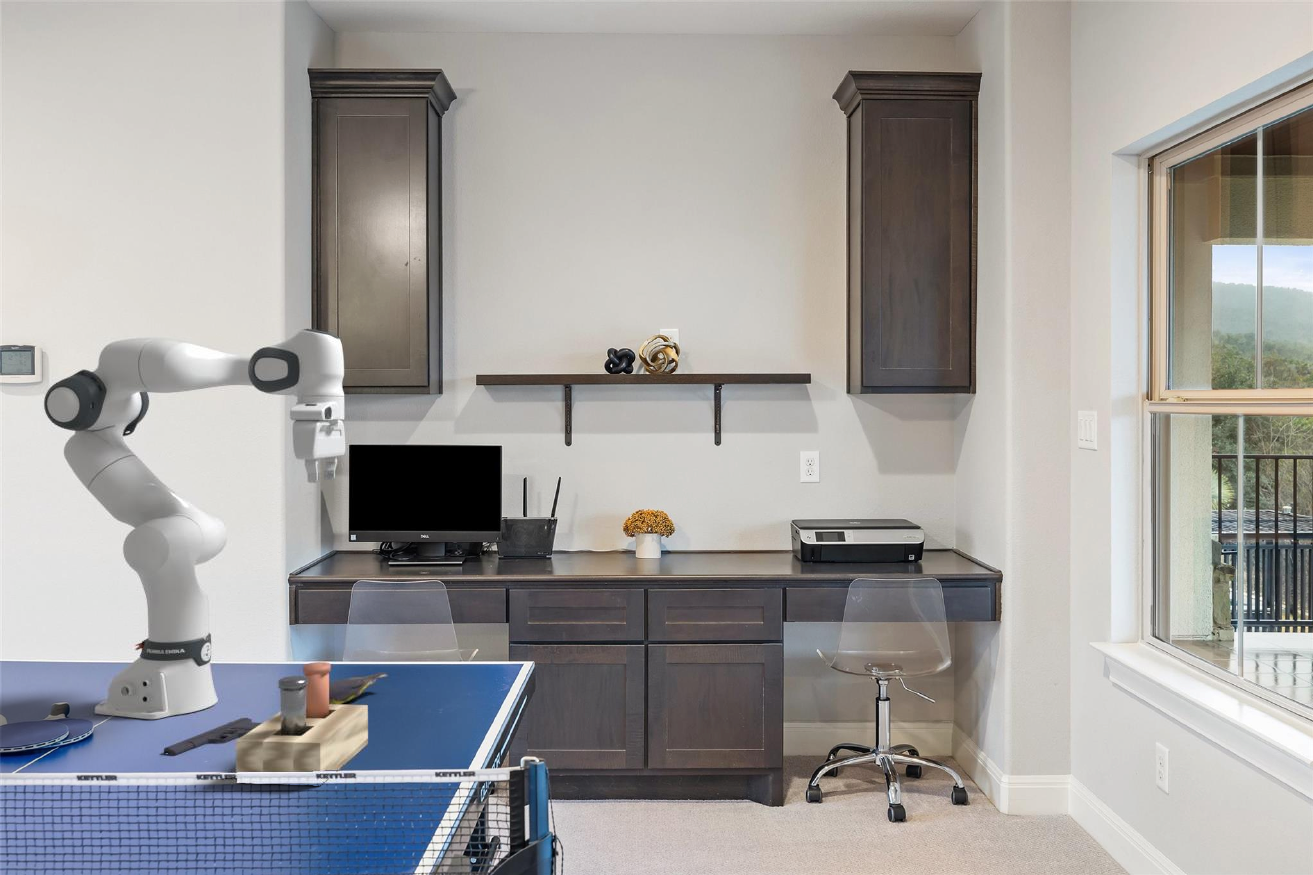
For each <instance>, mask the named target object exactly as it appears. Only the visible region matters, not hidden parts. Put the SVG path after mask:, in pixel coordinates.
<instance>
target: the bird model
mask: <svg viewBox="0 0 1313 875" xmlns="http://www.w3.org/2000/svg"><path fill="white" fill-rule="evenodd" d="M388 676H389V675H388V674H387V673H385V672H376V673H374V674H371V675H365V676H358V677H356V676H355V677H354V676H353V677H347V678H340V679H338V680H334V681H329V704H338V705H343V704H344V703H347V702H348V701H351V700H352V699H354V698H356V697H359V696H360V695H361V694H362V693H363V691H365V690H366V688H369V687H371V686H373V685H375V683H376V682H377V680H378V679H380V678H384V677H388Z"/></svg>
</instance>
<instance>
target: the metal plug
mask: <svg viewBox="0 0 1313 875" xmlns="http://www.w3.org/2000/svg"><path fill="white" fill-rule="evenodd" d="M277 683H278V686H277V687H278V689H279V690H280V691H279V692H280V696H279V697H280V698H279V699H280V711H281V735H282V736H302V735H303V734H305V733H306V686H307V685H308V677H305V675H293V676H286V677H282V678H280V679H279V680H278V682H277Z"/></svg>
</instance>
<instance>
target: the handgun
mask: <svg viewBox="0 0 1313 875" xmlns="http://www.w3.org/2000/svg"><path fill="white" fill-rule="evenodd" d="M262 723H263V722H252V718H249V717H241V718H239V719H234V720H233V721H229V722H228V723H226V724H223V725H220V726H217V727H215V728H212V729H210V730H207V731H205V732H202V733H200V734H197V735H195V736H192V737H190V738H187V739H184V740H181V741H179V742H177V743H174V744H171V745H169V746H166V747H164V748H163V754H164V753H165V754H166V753H168V754H171V755H170V756H173V755H174V756H177V755H179V754H182V753H184V752H187V751H189V750H192V749H196V748H199V747H201V746H203V745H207V744H211V743H218V744H220V743H221V744H222V743H226V742H229V741H232V740H234V739H237V738H238V739H239V738H241V737H242V736H244V735H245V734H247V733H248V732H250V731H251V730H253V729H254V728H256V727H257V726H259V725H261V724H262ZM165 754H164V755H165Z"/></svg>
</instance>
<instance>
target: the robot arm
mask: <svg viewBox="0 0 1313 875" xmlns="http://www.w3.org/2000/svg"><path fill="white" fill-rule="evenodd" d="M344 359H345V358H344V350H343V344H342V342H341V339H340V337H339V336H338V335H337V334H335V333H333V332H328V331H325V330H324V331H322V330H318V329H311V328H304V329H301V330H300V331H298V332H297V333H296V334H295V335H294V336H292V337H291V338H289V339H286V340H284V341H281V342H279V343H276V344H273V345H270V346H266V347H261V348H259V349H257V350H256V351H255V352H254V353H253V354H252V355H240V354H233V353H228V352H224V351H219V350H216V349H211V348H210V347H209V348H208V347H205V346H202V345H197V344H194V343H190V342H186V341H181V340H177V339H173V338H172V339H171V338H163V337H162V338H161V337H140V338H139V337H138V338H128V339H121V340H116V341H113V342H110V343H108V344H107V345H106V346H104V347H103V348H102V350H101V352H100V355H99V358H98V364H97V368H95V369H94V370H93V371H91V370H88V369H81V370H79V371H77V372H75V373H74V374H72V375H70V376H68V377H66V378H63V379H61V380H59V381H57V382H55V383H54V384H53V385H51V387H49V389H47V392H46V393H45V396H44V400H43V407H44V412H45V415H46V417H47V418H48V419H49V420H50V422H51V423H53V424H54V425H55V426H57V427H59V428H62V429H64V430H68V431H73V432H74V434H73V435H71V437H69V439H68V440H66V443H65V444H64V448H63V455H64V459H65V460H66V463H67V465H68V466H69V468H71V470H72V472H73V473H74V475H75V476H76V477H77V479H78V480H79V481H80V482H81V483H82V485H83V486H84V488H86V489H87V491H88V492H89V493H91V495H92V496H93V497H94V498H95V499H96V501H98V503H100V505H101V506H102V507H104V509H105V510H106V511H107V512H108V513H109V514H110V515H111V516H112V517H113V518H114V519H115V520H117V521H118V522H120V523H122V524H126V525H128V526H130V527H132V528H134V529H132V530H131V531H129V532H128V534H127V536H126V537H125V539H124V541H123V546H122V552H123V557H124V559H125V561H126V564H127V565H128V566H129V567H130V568H131V569H132V570H133V571H135V572H136V573H137V575H138V578H139V579H140V582H141V584H142V587H143V590H144V595H145V598H146V604H147V606H146V607H147V629H148V631H147V632H148V636H147V638H146V639H143V641H141V642H139V643H137V644H135V645H134V646H135V647H136V648H135V651H138V650H140V649H141V652H140V654H139V657H138V658H137V659H136V660H134V661H133V662H132V663H130V664H129V665H128V666H126V668H124V669H123V670H122V671H120V672H119V673H117V675H115V676H114V677H113V678H112V680H111V682H110V685H109V688H108V692H107V698H106V699H105V700H102V701H101V702H100V703H98V704H97V705H95V708H94V714H97V715H106V716H115V717H126V718H135V719H144V720H158V719H162V718H166V717H171V716H176V715H183V714H188V713H193V712H198V711H201V710H204V709H207V708H210V707H211V706H214V705H215V704H217V703H218V701H219V699H218V697H217V696H218V695H217V692H216V689H215V686H214V681H213V680H214V679H213V674H212V669H211V668H212V666H211V659H212V635H211V633H210V632H209V631H210V630H209V629H210V628H209V627H210V625H209V624H210V623H209V619H210V618H209V613H210V612H209V611H210V610H209V597H208V594H207V593H206V592H205V591H204V590H202V588H201V587H200V585H199V582H198V579H197V575H196V570H195V566H197V565H201V564H204V563H207V562H209V561H210V560H211V559H213V558H214V557H216V556H217V555H218V554H220V553H221V552H223V550H224V548H225V547H226V544H227V540H228V530H227V528H226V526H225V524H224V522H223V521H222V520H221V519H220V518H219V517H217V516H215V515H213V514H210V513H208V512H205V511H203V510H202V509H200V508H198V507H197V506H195V505H194V504H193V503H191V502H190V501H189V500H188V499H185V497H182V496H181V494H180V495H179V494H178V493H177V492H176V491H174V490H173V489H171V488H170V487H168V486H167V485H166V484H165V483H163V481H162V480H161V479H159V478H158V476H156V475H155V473H154V472H153V471H152V470H151V469H150V468H149V467H148V466H147V465H146V464H145V463H144V462H143V461H142V459H140V458H139V457H138V456H137V455H136V454H135V452H133V451H132V450H131V449H130V447H129V446H128V445H127V443H126V442H125V440H124V437H127V436H130V435H131V434H133V433H134V432H135V430H136V428H137V425H139V423H140V422H142V420H143V419H144V418H145V416H146V414H147V412H148V411H149V405H150V398H149V394H148V393H154V394H156V393H157V394H158V393H159V394H170V393H171V394H172V393H182V392H183V393H184V392H189V391H190V392H191V391H197V390H203V389H210V388H217V387H218V388H219V387H225V386H226V387H227V386H250V387H252V386H253V387H254V388H255V389H257V390H258V391H260V392H262V393H265V394H268V395H279V396H292V397H293V396H294V397H296V398H297V399H296V400H297V401H296V404H295V405H294V406H293V407H292V408H291V409H290V410H289V419H290V421H293V423H292V446H293V453H294V456H295V459H297V460H304V467H305V472H306V474H307V482H308V483H309V484H310V483H311V484H312V483H318V482H320V473H319V469H318V464H319V459H324V462H325V466H324V467H325V468H324V471H323V479H324V480H326V481H327V480H330V481H331V480H334V479H335V477H336V469H337V465H338V457H343V456H344V455H345V453H346V433H345V432H346V431H345V425H344V422H343V420H345V417H346V416H345V392H344V389H343V380H344V377H345V360H344Z"/></svg>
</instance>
